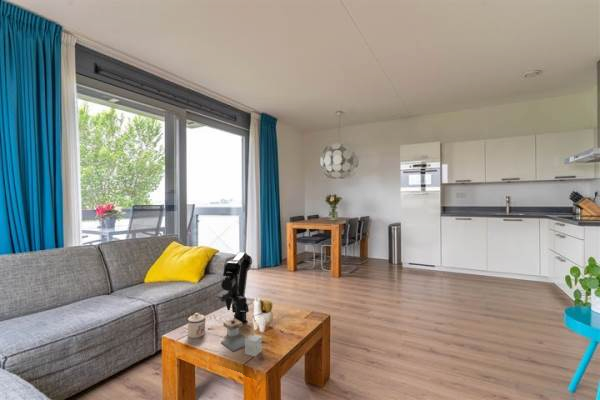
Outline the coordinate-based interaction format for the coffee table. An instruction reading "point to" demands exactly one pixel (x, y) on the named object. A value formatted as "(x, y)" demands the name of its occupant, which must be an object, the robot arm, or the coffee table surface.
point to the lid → (233, 324)
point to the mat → (235, 342)
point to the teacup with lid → (196, 326)
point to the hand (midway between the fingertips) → (232, 312)
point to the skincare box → (253, 345)
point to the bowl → (233, 332)
